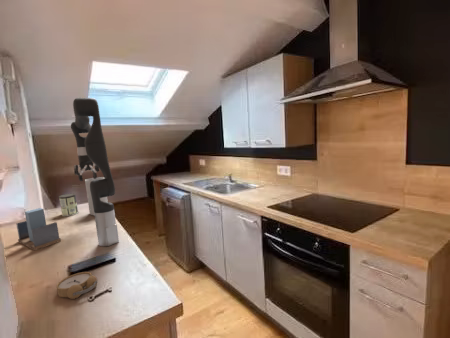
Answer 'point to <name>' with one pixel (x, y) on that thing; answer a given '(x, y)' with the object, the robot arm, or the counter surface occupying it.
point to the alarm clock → (76, 285)
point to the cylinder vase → (90, 194)
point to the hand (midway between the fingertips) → (88, 179)
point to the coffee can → (68, 204)
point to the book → (35, 220)
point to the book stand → (31, 244)
